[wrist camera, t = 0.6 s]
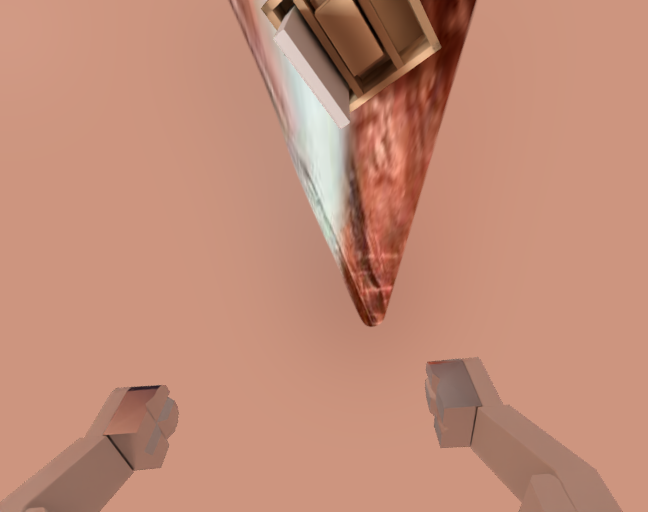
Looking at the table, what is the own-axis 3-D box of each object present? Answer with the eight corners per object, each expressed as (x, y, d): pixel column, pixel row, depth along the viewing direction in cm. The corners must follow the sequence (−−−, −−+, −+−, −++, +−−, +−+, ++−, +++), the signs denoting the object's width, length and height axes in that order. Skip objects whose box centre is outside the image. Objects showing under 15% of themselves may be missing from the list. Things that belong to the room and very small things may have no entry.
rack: (367, -101, 34) (371, -103, 30) (431, 33, 42) (441, 47, 37) (269, -3, 40) (260, 8, 36) (341, 100, 47) (341, 119, 43)
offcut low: (338, -32, 37) (338, -27, 34) (382, 46, 42) (385, 56, 39) (312, -7, 39) (309, 0, 36) (357, 65, 44) (358, 76, 41)
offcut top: (344, -17, 35) (344, -13, 33) (381, 48, 39) (383, 54, 37) (315, 9, 36) (314, 15, 35) (353, 69, 40) (354, 76, 38)
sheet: (297, 0, 39) (283, 28, 30) (348, 78, 45) (350, 122, 35) (288, 8, 40) (273, 38, 30) (340, 84, 45) (340, 129, 36)
